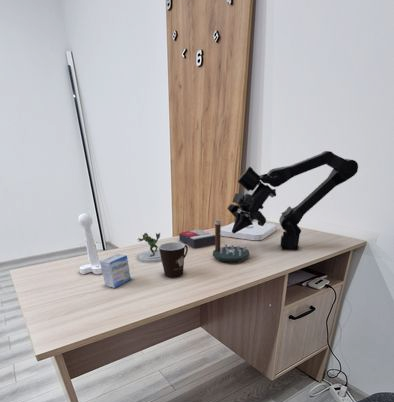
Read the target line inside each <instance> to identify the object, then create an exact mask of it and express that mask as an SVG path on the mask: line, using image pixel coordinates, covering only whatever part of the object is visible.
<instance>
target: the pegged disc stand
mask: <svg viewBox="0 0 394 402" xmlns="http://www.w3.org/2000/svg"><path fill="white" fill-rule="evenodd" d="M221 225H222V221H220V220H215V221H214V235H215V244H214V250H213V251H212V257H213V258H214V259H216V260H218V259H219V260H224V261H238V260H243V259H244V260H246V259H248V258H249V257H250V254H251V253H250V250H248V249H247V246H246V245H244V246H243V247H241V246H240V245H239V244H237V246H234V244H231V245H230V246H228V244H227V243H225V244H224V246H222V247H221V235H220V233H221V228H222V227H221ZM219 260H218V261H219ZM244 260H243V261H244Z"/></svg>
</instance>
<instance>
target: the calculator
mask: <svg viewBox="0 0 394 402" xmlns="http://www.w3.org/2000/svg"><path fill="white" fill-rule="evenodd" d="M178 239H179V241H180V242H181V243H182V242H183V243H184V244H187V245H189V246H190V247H191V248H193V249H197V248H202V247H207V246H213V245H215V234H212V233H210V232H208V231H205V230H202V229H193V230H188V231H183V232H182V231H181V232H180V233H178Z"/></svg>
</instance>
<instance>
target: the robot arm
mask: <svg viewBox="0 0 394 402" xmlns="http://www.w3.org/2000/svg"><path fill="white" fill-rule="evenodd" d="M324 165H326V166H328V167H330V168H332V170H331V171H330V173H329V174H328V176H327V178H326V179H324V180H323V181H322V182H321V183H320V184H319V185H318V186H317V187H316V188H315V189H314V190H313V191H312V192H310V193H309V194H308V195H307V196H306V197H305V198H303V200H302V201H301V202H299V203H298V204H297V205H296V206H295V207H291V206H290V205H289V206H288V207H287V208H286V210H284V211H283V212H281V215H280V217H279V220H278V221H279V225H280V227H281V228H282V230H283V231H282V235H281V236H280V243H279V245H280V248H281V250H282V251H283V250H284V251H286V250H287V251H298V250H299V242H300V235H301V232H302V229H301V228H300V227H299V223H300V222H301V221H302V219H303V217H304V216H305V214H307V213H308V212H309V211H310V210H311V209H313V207H314V206H316V205H317V204H318V203H319V202H320V201H321V200H323V198H325V197H326V196H327V195H328V194H329V193H330V192H331V191H332V190H333V189H334V188H335V187H337V186H339V185H341V184H343V183H345V182H347V181H349V180H350V179H352V178H353V177H354V176H356V175H357V173H358V171H359V170H358V169H359V163H358V162H357V161H356V160H354V159H349V158H343V157H341V156H340V155H337V154H335V153H333V151H330V150H324V151H322V152H321V153H319V154H316V155H313V156H311V157H309V158H306V159H303V160H300V161H298V162H296V163H294V164H290V165H285V166H280V167H275V168H272V169H270V170H269V171H268V172H267V173H263V174H260V175H259V174H258V173H257V172H256V171H255V170H254V169H253V167H251V166H249V167H248V168H247V169H246V170H245V171H244V172H242V174H241V175H240V176H239V178H238V179H237V183H238V184H239V185H240V186H241V187H243V188H244V189H245V190H246V191H247V192H249V191H252V193H251V194H250V193H245V194H241V193H234V196H233V198H232V201H231V202H232V203H231V204H229V205H228V206H227V211H229V213H231V214H232V216H233V217H234V218H235V220H234V222H235V223H234V226H233V229H232V233H236V232H238V231H240V230H242V229H243V228H245V227H248V226H250V225H253V223H252V222H255V221H256V222H258V225H260V226H264V224H265V223H267V218H266V217H265V215H264V214H263V213H262V212H261V211H260V210H263V209H264V206H263V205H264V204H265V202H266V201H267V200H268V199H269V197H270V198H274V197H276V196H277V192H276V191H277V189H276V188H277V187H280V186H281V185H284V184H285V183H287V182H288V181H290V180H291V179H292V178H294V177H296V176H299V175H302V174H304V173H307V172H309V171H312V170H315V169H316V168H319V167H322V166H324ZM270 186H271V187H270ZM272 187H273V188H272ZM233 203H234V204H233Z"/></svg>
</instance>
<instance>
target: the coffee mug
mask: <svg viewBox="0 0 394 402" xmlns="http://www.w3.org/2000/svg"><path fill="white" fill-rule="evenodd" d="M158 250H160V255H161V260H162V261H161V263H162V268H163V272H164V273H163V274H164V276H165V277H166V278H168V279H177V278H181V277H183V275H184V266H185V258H186V256H187V255H188V250H189V248H188V245H186V244H185V243H182V242H176V241H171V242H164V243H161V244H160V245H159V246H158Z"/></svg>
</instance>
